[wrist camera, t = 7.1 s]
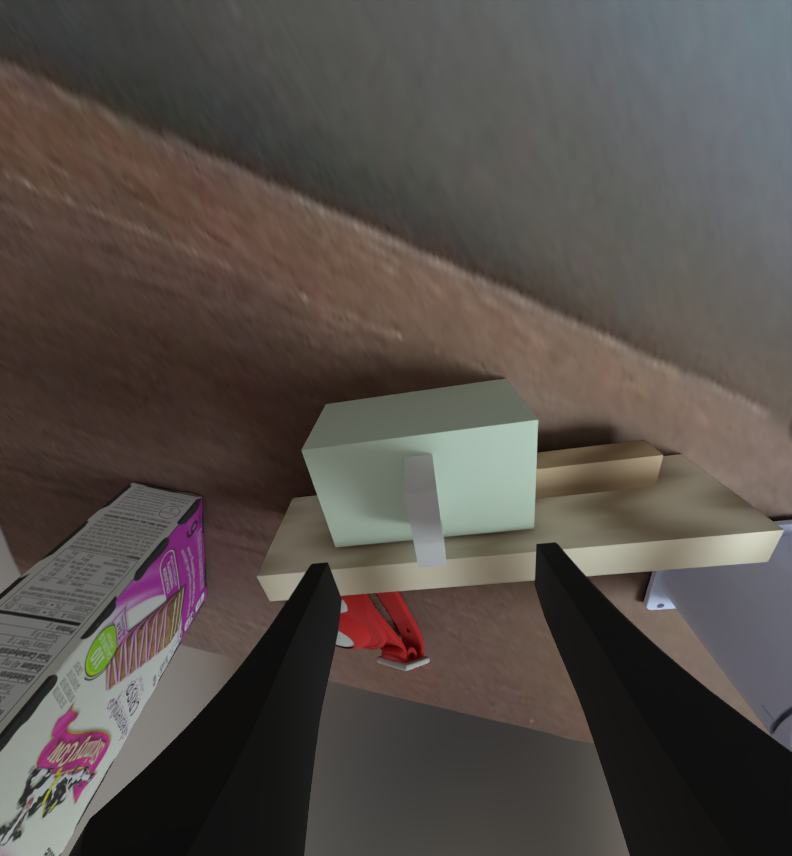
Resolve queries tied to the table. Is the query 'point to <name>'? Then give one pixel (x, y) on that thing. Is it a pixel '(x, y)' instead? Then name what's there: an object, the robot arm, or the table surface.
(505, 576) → the wall board
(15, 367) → the table surface
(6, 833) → the candy bar box
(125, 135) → the table surface
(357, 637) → the tracker holder
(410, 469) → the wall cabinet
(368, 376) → the table surface
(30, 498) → the table surface
